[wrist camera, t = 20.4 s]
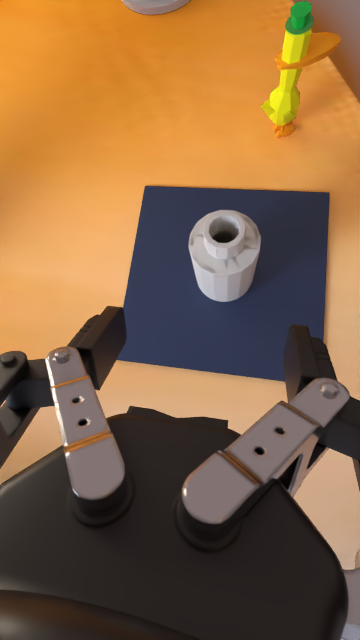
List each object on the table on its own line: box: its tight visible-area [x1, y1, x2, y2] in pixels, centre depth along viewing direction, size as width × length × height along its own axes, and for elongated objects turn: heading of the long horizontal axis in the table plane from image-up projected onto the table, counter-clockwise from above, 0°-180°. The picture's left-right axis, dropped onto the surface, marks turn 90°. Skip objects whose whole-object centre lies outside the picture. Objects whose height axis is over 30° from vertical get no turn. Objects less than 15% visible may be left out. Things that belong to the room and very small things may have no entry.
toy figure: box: [260, 1, 341, 137], centre depth 30 cm, size 7×4×12 cm, turn 107°
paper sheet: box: [117, 186, 329, 381], centre depth 33 cm, size 20×20×1 cm
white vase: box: [188, 210, 261, 302], centre depth 28 cm, size 6×6×10 cm
